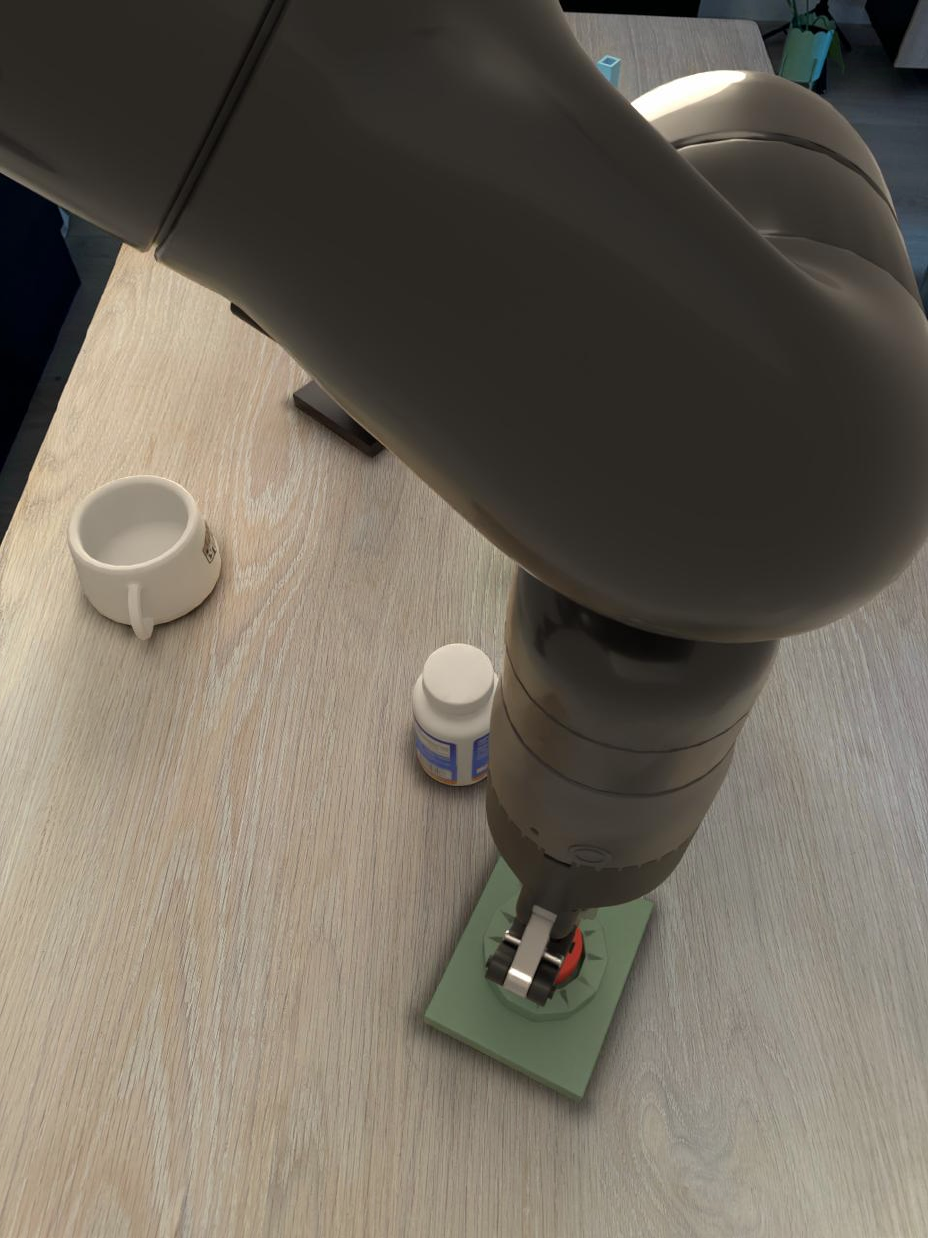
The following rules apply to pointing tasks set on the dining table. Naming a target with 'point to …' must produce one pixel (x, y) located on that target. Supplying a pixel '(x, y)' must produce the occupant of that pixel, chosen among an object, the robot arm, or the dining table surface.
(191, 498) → the mug
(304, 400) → the bracket
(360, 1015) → the dining table surface
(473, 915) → the control block
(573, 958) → the button
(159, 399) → the dining table surface
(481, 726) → the pill bottle
